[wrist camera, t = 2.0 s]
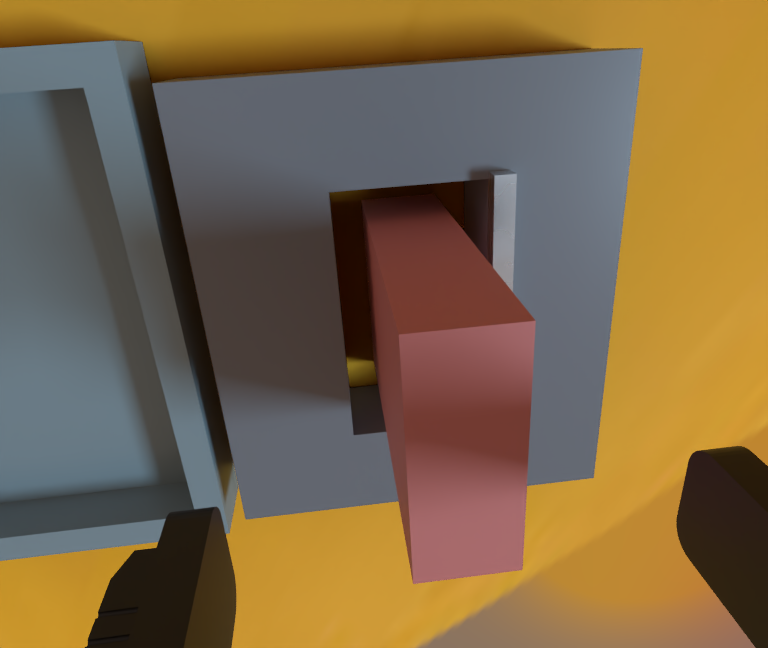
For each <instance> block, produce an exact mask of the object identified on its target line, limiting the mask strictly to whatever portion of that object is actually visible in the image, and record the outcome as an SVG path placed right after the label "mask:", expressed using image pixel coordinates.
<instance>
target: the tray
mask: <svg viewBox="0 0 768 648" xmlns="http://www.w3.org/2000/svg"><path fill="white" fill-rule="evenodd" d="M237 490H238V484H237V479H236V474H235V470H234V465H233V460H232V456H231V451H230V447H229V442H228V437H227V433H226V428H225V423H224V419H223V414H222V410H221V405H220V400H219V396H218V391H217V386H216V382H215V377H214V372H213V368H212V363H211V359H210V354H209V349H208V345H207V340H206V335H205V331H204V326H203V322H202V317H201V312H200V308H199V303H198V298H197V294H196V289H195V284H194V280H193V275H192V271H191V266H190V261H189V257H188V252H187V247H186V243H185V238H184V234H183V229H182V224H181V220H180V215H179V210H178V206H177V201H176V196H175V192H174V187H173V183H172V178H171V173H170V169H169V164H168V159H167V155H166V150H165V146H164V141H163V136H162V132H161V127H160V122H159V118H158V113H157V108H156V104H155V99H154V95H153V90H152V85H151V81H150V76H149V71H148V67H147V62H146V58H145V53H144V48H143V44H142V42H135V41H100V42H85V43H70V44H55V45H40V46H25V47H10V48H0V561H3V560H11V559H20V558H28V557H36V556H44V555H53V554H61V553H69V552H78V551H86V550H94V549H102V548H111V547H119V546H127V545H136V544H144V543H152V542H159V539H160V536H161V532H162V529H163V526H164V523H165V520H166V517H167V515H168V514H169V513H170V512H175V511H183V510H191V509H200V508H208V507H218V508H219V510H220V512H221V516H222V520H223V525H224V529H225V534H227V533H230V528H231V522H232V517H233V512H234V506H235V501H236V495H237Z"/></svg>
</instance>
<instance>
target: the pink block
mask: <svg viewBox="0 0 768 648" xmlns="http://www.w3.org/2000/svg"><path fill="white" fill-rule="evenodd" d="M361 205H362V218H363V230H364V243H365V255H366V268H367V280H368V293H369V305H370V318H371V330H372V343H373V356H374V364H375V370H376V376H377V381H378V387H379V393H380V398H381V404H382V410H383V415H384V421H385V427H386V432H387V438H388V444H389V449H390V455H391V461H392V466H393V472H394V478H395V483H396V489H397V495H398V500H399V506H400V512H401V517H402V523H403V529H404V534H405V540H406V546H407V551H408V557H409V563H410V568H411V574H412V580H413V584H416V583H424V582H432V581H440V580H447V579H455V578H463V577H471V576H478V575H486V574H494V573H502V572H509V571H517V570H522V567H523V549H524V530H525V511H526V493H527V474H528V455H529V436H530V418H531V399H532V380H533V362H534V343H535V324H536V321H535V319H534V318H533V317H532V316H531V314H530V313H529V312H528V311H527V309H526V308H525V307H524V306H523V304H522V303H521V302H520V301H519V299H518V298H517V297H516V296H515V294H514V293H513V292H512V291H511V289H510V288H509V287H508V286H507V284H506V283H505V282H504V281H503V279H502V278H501V277H500V276H499V274H498V273H497V272H496V271H495V269H494V268H493V267H492V266H491V264H490V263H489V262H488V261H487V259H486V258H485V257H484V256H483V254H482V253H481V252H480V251H479V249H478V248H477V247H476V246H475V244H474V243H473V242H472V241H471V239H470V238H469V237H468V236H467V234H466V233H465V232H464V231H463V229H462V228H461V227H460V226H459V224H458V223H457V222H456V221H455V219H454V218H453V217H452V216H451V214H450V213H449V212H448V211H447V209H446V208H445V207H444V206H443V204H442V203H441V202H440V201H439V199H438V198H437V197H436V196H435V194H425V195H414V196H402V197H390V198H379V199H367V200H361Z"/></svg>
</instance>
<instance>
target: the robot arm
mask: <svg viewBox="0 0 768 648" xmlns="http://www.w3.org/2000/svg"><path fill="white" fill-rule="evenodd" d="M677 532H678V537H679V540H680V543H681V546H682V548H683V550H684V552H685V554H686V555H687V557H688V558H689V560H690V561H691V562H692V564H693V565H694V566H695V568H696V569H697V570H698V572H699V573H700V574H701V576H702V577H703V578H704V580H705V581H706V582H707V584H708V585H709V586H710V588H711V589H712V590H713V592H714V593H715V594H716V596H717V597H718V598H719V599H720V601H721V602H722V603H723V605H724V606H725V607H726V609H727V610H728V611H729V613H730V614H731V615H732V617H733V618H734V619H735V621H736V622H737V623H738V625H739V626H740V627H741V629H742V630H743V631H744V633H745V634H746V635H747V637H748V638H749V639H750V641H751V642H752V643H753V645H754V646H755V647H756V648H768V466H767V465H765V463H763V462H762V461H761V460H760V459H759V458H758V457H757V456H756V455H755V454H753V453H752V452H751V451H750V450H748V449H747V448H745V447H742V446H734V447H726V448H717V449H709V450H701V451H696V452H694V453H693V454H692V455H691V457H690V459H689V462H688V467H687V472H686V476H685V481H684V486H683V491H682V496H681V500H680V505H679V510H678V515H677ZM235 615H236V583H235V575H234V570H233V566H232V561H231V557H230V552H229V547H228V543H227V538H226V534H225V529H224V525H223V520H222V516H221V512H220V510H219V508H218V507H208V508H200V509H191V510H183V511H175V512H170V513H169V514H168V515H167V517H166V520H165V523H164V526H163V529H162V532H161V536H160V539H159V542H158V545H157V548H152V549H144V550H136V551H134V552H133V553H132V554H131V556H130V557H129V558H128V559H127V560H126V562H125V563H124V564H123V565H122V566H121V568H120V569H119V570H118V571H117V572H116V574H115V575H114V576H113V577H112V578H111V580H110V582H109V585H108V587H107V590H106V593H105V595H104V598H103V601H102V603H101V606H100V609H99V611H98V618H97V619H95V622H94V624H93V627H92V630H91V632H90V635H89V638H88V646H87V647H85V648H231V646H232V638H233V631H234V623H235Z"/></svg>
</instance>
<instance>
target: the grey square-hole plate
mask: <svg viewBox="0 0 768 648" xmlns="http://www.w3.org/2000/svg"><path fill="white" fill-rule="evenodd" d="M642 51H643V48H612V49H581V50H567V51H553V52H539V53H525V54H511V55H497V56H483V57H469V58H455V59H441V60H427V61H413V62H399V63H385V64H370V65H356V66H342V67H328V68H314V69H300V70H286V71H272V72H258V73H244V74H230V75H216V76H202V77H188V78H177V79H172V80H167V81H162V82H157V83H152V86H153V91H154V95H155V100H156V105H157V109H158V114H159V119H160V123H161V128H162V133H163V137H164V142H165V147H166V151H167V156H168V160H169V165H170V170H171V174H172V179H173V184H174V188H175V193H176V198H177V202H178V207H179V212H180V216H181V221H182V225H183V230H184V235H185V239H186V244H187V249H188V253H189V258H190V263H191V267H192V272H193V277H194V281H195V286H196V290H197V295H198V300H199V304H200V309H201V314H202V318H203V323H204V328H205V332H206V337H207V342H208V346H209V351H210V355H211V360H212V365H213V369H214V374H215V379H216V383H217V388H218V393H219V397H220V402H221V407H222V411H223V416H224V420H225V425H226V430H227V434H228V439H229V444H230V448H231V453H232V458H233V462H234V467H235V472H236V476H237V481H238V485H239V490H240V495H241V499H242V504H243V509H244V513H245V518H246V519H253V518H262V517H270V516H279V515H287V514H295V513H304V512H312V511H320V510H329V509H337V508H345V507H354V506H362V505H371V504H379V503H387V502H396V501H399V500H398V495H397V489H396V483H395V478H394V472H393V466H392V461H391V455H390V449H389V444H388V438H387V432H386V427H385V421H384V415H383V410H382V404H381V398H380V393H379V387H378V385H372V386H363V387H354V388H349V379H348V370H347V360H346V350H345V340H344V331H343V321H342V311H341V301H340V292H339V282H338V272H337V263H336V253H335V243H334V233H333V224H332V214H331V204H330V194H329V192H339V191H351V190H362V189H374V188H386V187H398V186H410V185H421V184H433V183H445V182H457V181H464V232H465V233H466V234H467V236H468V237H469V238H470V239H471V241H472V242H473V243H474V244H475V246H476V247H477V248H478V249H479V251H480V252H481V253H482V254H483V256H484V257H485V258H486V259H487V261H488V262H489V263H490V264H491V266H492V267H493V268H494V269H495V271H496V272H497V273H498V274H499V276H500V277H501V278H502V279H503V281H504V282H505V283H506V284H507V286H508V287H509V288H510V289H511V291H512V292H513V293H514V294H515V296H516V297H517V298H518V299H519V301H520V302H521V303H522V304H523V306H524V307H525V308H526V309H527V311H528V312H529V313H530V314H531V316H532V317H533V318H534V319H535V321H536V324H535V343H534V362H533V380H532V399H531V418H530V436H529V455H528V474H527V486H529V485H538V484H546V483H555V482H563V481H571V480H580V479H588V478H594V469H595V461H596V452H597V443H598V434H599V426H600V417H601V408H602V400H603V391H604V382H605V373H606V365H607V356H608V347H609V339H610V330H611V321H612V312H613V304H614V295H615V286H616V278H617V269H618V260H619V252H620V243H621V234H622V225H623V217H624V208H625V199H626V191H627V182H628V173H629V164H630V156H631V147H632V138H633V130H634V121H635V112H636V103H637V95H638V86H639V77H640V69H641V60H642Z"/></svg>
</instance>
